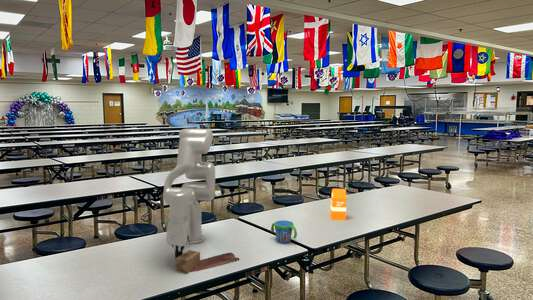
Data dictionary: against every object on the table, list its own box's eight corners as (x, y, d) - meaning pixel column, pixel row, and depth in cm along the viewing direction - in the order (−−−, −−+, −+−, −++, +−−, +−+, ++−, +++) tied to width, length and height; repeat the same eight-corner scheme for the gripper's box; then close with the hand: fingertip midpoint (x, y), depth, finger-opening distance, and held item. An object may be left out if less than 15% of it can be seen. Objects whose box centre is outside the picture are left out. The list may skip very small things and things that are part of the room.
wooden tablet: (188, 271, 155) (179, 260, 163) (188, 276, 156) (179, 265, 164) (241, 258, 170) (231, 249, 178) (241, 262, 171) (231, 253, 179)
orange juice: (345, 220, 233) (347, 190, 231) (331, 220, 234) (333, 189, 231) (343, 216, 241) (344, 187, 239) (330, 216, 241) (331, 187, 239)
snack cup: (266, 239, 197) (266, 221, 195) (278, 235, 204) (279, 217, 203) (288, 248, 186) (288, 229, 185) (300, 242, 194) (301, 224, 192)
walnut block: (175, 271, 158) (175, 258, 157) (188, 262, 167) (188, 249, 166) (187, 273, 156) (187, 260, 155) (200, 264, 165) (199, 252, 164)
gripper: (159, 219, 160) (160, 258, 163) (187, 224, 155) (187, 265, 157) (170, 214, 167) (170, 252, 169) (197, 219, 161) (197, 258, 164)
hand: (178, 258), depth 163 cm, fingers closed
